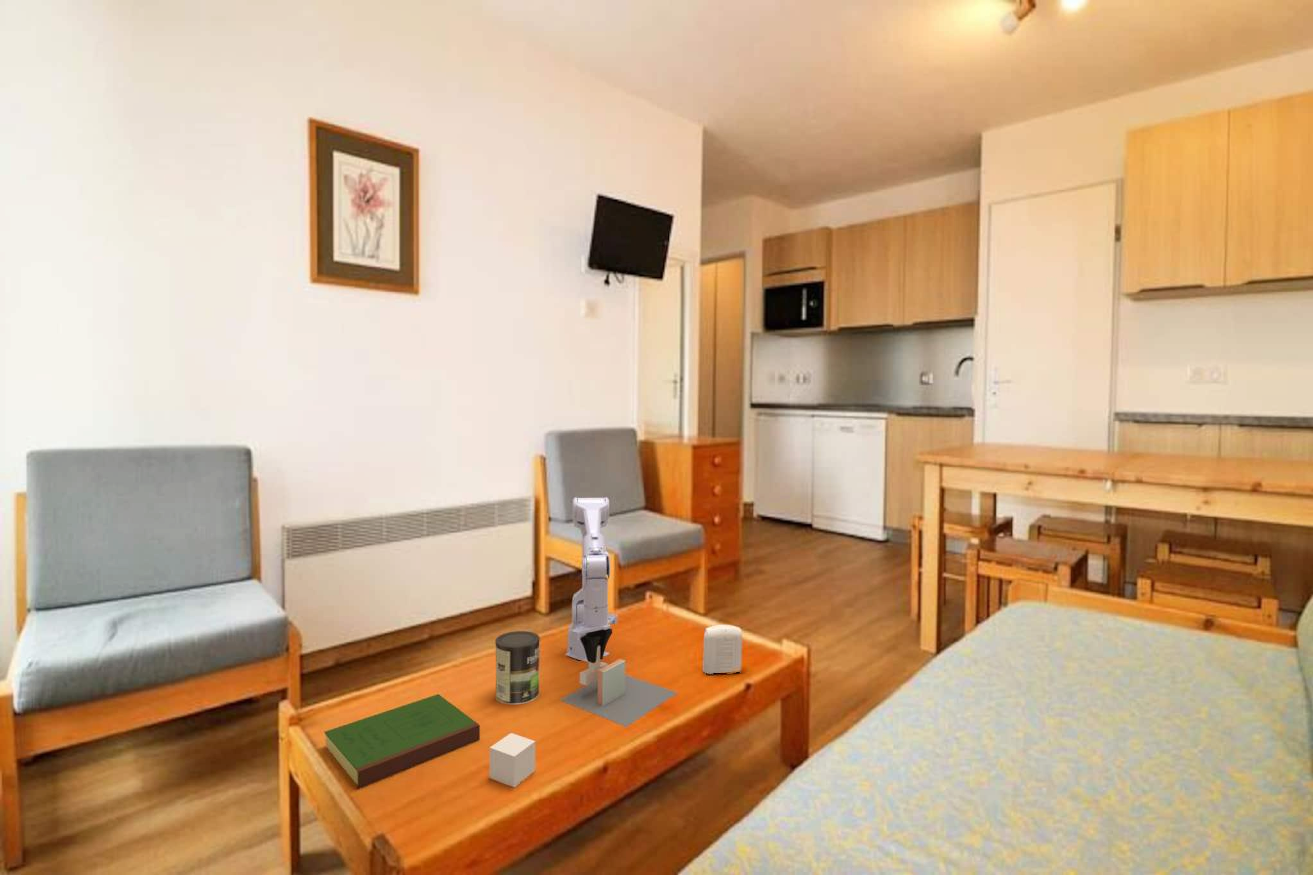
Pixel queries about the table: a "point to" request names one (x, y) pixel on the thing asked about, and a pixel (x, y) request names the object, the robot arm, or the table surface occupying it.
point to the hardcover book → (400, 739)
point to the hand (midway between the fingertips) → (595, 659)
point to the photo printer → (722, 649)
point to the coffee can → (517, 667)
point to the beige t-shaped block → (592, 670)
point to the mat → (621, 700)
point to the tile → (611, 682)
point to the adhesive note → (512, 759)
